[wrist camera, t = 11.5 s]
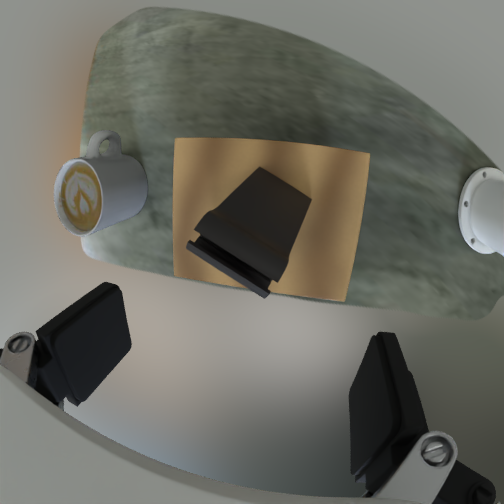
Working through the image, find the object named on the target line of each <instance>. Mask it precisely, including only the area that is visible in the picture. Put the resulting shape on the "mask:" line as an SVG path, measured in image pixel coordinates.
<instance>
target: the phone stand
mask: <svg viewBox="0 0 504 504" xmlns="http://www.w3.org/2000/svg"><path fill="white" fill-rule="evenodd" d="M311 201H312V199H311V198H309V197H308V196H306V195H305V194H303V193H302V192H300V191H299V190H297V189H296V188H294V187H293V186H291V185H289V184H288V183H286V182H285V181H283V180H281V179H280V178H278V177H277V176H275V175H273V174H272V173H270V172H268V171H267V170H265V169H263V168H262V167H260V166H259V167H258V168H257V169H256V170H255V171H254V172H253V173H252V174H251V175H250V176H249V177H248V178H247V179H246V180H244V181H243V182H242V183H241V184H240V185H239V186H238V187H237V188H236V189H235V190H234V191H233V192H232V193H231V194H230V195H229V196H228V197H227V198H226V199H225V200H224V201H223V202H222V203H221V204H220V205H219V206H218V207H216V208H215V209H213V210H210V211H208V212H207V213H206V214H205V215H204V216H203V217H202V219H201V220H200V221H199V222H198V224H197V225H196V227H195V228H194V230H195V231H196V232H198V233H200V236H199V237H198V238H197V240H196V241H195V242H193V241H191V240H189V241H188V242H187V245H186V249H187V250H189V251H190V252H192V253H193V254H195V255H196V256H198V257H199V258H201V259H203V260H204V261H206V262H207V263H209V264H210V265H212V266H213V267H215V268H217V269H218V270H220V271H221V272H223V273H224V274H226V275H228V276H229V277H231V278H232V279H234V280H235V281H237V282H239V283H240V284H242V285H243V286H245V287H247V288H248V289H250V290H251V291H253V292H255V293H256V294H258V295H259V296H261V297H263V298H266V297H267V296H268V295H269V294H270V292H271V291H270V290H268V287H269V285H270V284H271V281H272V280H274V281H275V282H277V283H278V282H279V280H280V278H281V277H282V275H283V273H284V271H285V270H286V267H287V265H288V262H289V255H290V252H291V250H292V247H293V245H294V242H295V240H296V238H297V235H298V233H299V230H300V228H301V226H302V223H303V221H304V218H305V216H306V213H307V211H308V208H309V206H310V203H311Z"/></svg>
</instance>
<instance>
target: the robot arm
mask: <svg viewBox="0 0 504 504" xmlns="http://www.w3.org/2000/svg"><path fill="white" fill-rule="evenodd" d="M458 218H459V225H460V230H461V232H462V235H463V237H464V239H465V241H466V242H467V244H468V245H469V246H470V247H471V248H473V249H474V250H475V251H477V252H479V253H483V254H490V253H493V252H498V253H500V254H501V255H503V256H504V173H503V172H502V171H500V170H498V169H496V168H492V167H484V168H480V169H478V170H476V171H475V172H474V173H473V174H472V175H471V176H470V177H469V178H468V180H467V181H466V183H465V185H464V187H463V190H462V192H461V195H460V200H459V208H458ZM36 333H37V336H38V340H37V341H36V340H35V338H34V336H33V335H32V334H31V333H29V332H19V333H16V334H14V335H13V336H11V337H10V338H9V339H8V340H7V341H6V343H5V346H4V348H3V349H0V504H495V503H494V501H495V498H496V491H495V487H494V485H493V484H492V482H491V481H489V480H488V479H486V478H485V477H483V476H481V475H480V474H478V473H476V472H475V471H473V470H471V469H470V468H468V467H467V466H465V465H464V464H462V463H460V462H459V461H457V460H456V457H457V446H456V443H455V442H454V440H453V439H452V437H450V436H449V435H448V434H446V433H444V432H441V431H431V432H429V430H428V426H427V423H426V419H425V415H424V411H423V408H422V404H421V401H420V398H419V395H418V391H417V388H416V385H415V381H414V379H413V375H412V373H411V372H410V371H408V368H407V365H406V362H405V359H404V357H403V354H402V351H401V348H400V345H399V342H398V340H397V337H396V335H395V333H389V332H378V333H377V335H376V336H375V335H373V336H372V338H371V340H370V342H369V345H368V347H367V350H366V353H365V355H364V358H363V360H362V363H361V365H360V367H359V370H358V372H357V375H356V377H355V379H354V382H353V384H352V386H351V388H350V392H349V412H350V438H351V439H350V440H351V474H352V475H355V482H366V489H367V491H366V492H365V493H364V494H363V495H362V496H361V497H360V498H343V497H315V496H301V495H292V494H284V493H277V492H270V491H264V490H258V489H252V488H246V487H242V486H237V485H233V484H229V483H224V482H220V481H217V480H213V479H209V478H206V477H202V476H199V475H196V474H193V473H190V472H187V471H184V470H181V469H178V468H175V467H172V466H170V465H167V464H164V463H162V462H159V461H157V460H154V459H152V458H149V457H147V456H145V455H142V454H140V453H138V452H136V451H133V450H131V449H129V448H127V447H125V446H123V445H121V444H119V443H117V442H115V441H113V440H111V439H109V438H107V437H106V436H104V435H102V434H100V433H98V432H97V431H95V430H93V429H91V428H90V427H88V426H86V425H85V424H83V423H81V422H80V421H78V420H77V419H75V418H73V417H72V416H70V415H69V414H67V413H66V412H64V400H63V399H64V398H65V397H67V399H68V401H69V402H71V403H73V404H74V405H76V406H78V405H79V404H80V403H81V402H83V401H85V400H86V399H87V398H88V397H89V396H90V395H91V394H92V393H93V391H94V390H95V389H96V388H97V387H98V386H99V385H100V383H101V382H102V381H103V380H104V379H105V378H106V377H107V375H108V374H109V373H110V372H111V371H112V370H113V369H114V367H115V366H116V365H117V364H118V363H119V362H120V361H121V360H122V358H123V357H124V356H125V355H126V354H127V353H128V352H129V350H130V349H131V345H132V344H131V338H130V333H129V328H128V323H127V318H126V313H125V307H124V301H123V296H122V291H121V290H120V288H119V286H117V285H116V284H112V283H108V282H104V283H102V284H100V285H99V286H97V287H96V288H95V289H93V290H92V291H90V292H89V293H87V294H86V295H84V296H83V297H82V298H81V299H79V300H78V301H76V302H75V303H73V304H72V305H70V306H69V307H68V308H66V309H65V310H64V311H62V312H61V313H59V314H58V315H57V316H55V317H54V318H53V319H51V320H50V321H49V322H47V323H46V324H45V325H43V326H42V327H41V328H39V329H38V330H37V331H36ZM496 504H501V503H500V502H498V503H496Z"/></svg>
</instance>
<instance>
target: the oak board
mask: <svg viewBox="0 0 504 504" xmlns="http://www.w3.org/2000/svg"><path fill="white" fill-rule="evenodd" d="M369 162H370V153H365V152H359V151H354V150H348V149H341V148H335V147H328V146H321V145H313V144H305V143H296V142H286V141H274V140H260V139H243V138H175V148H174V171H173V257H174V276H177V277H183V278H189V279H194V280H200V281H206V282H212V283H218V284H224V285H230V286H236V287H242V288H247V287H245V286H243V285H242V284H240V283H239V282H237V281H235V280H234V279H232V278H231V277H229V276H228V275H226V274H224V273H223V272H221V271H220V270H218V269H217V268H215V267H213V266H212V265H210V264H209V263H207V262H206V261H204V260H203V259H201V258H199V257H198V256H196V255H195V254H193V253H192V252H190V251H189V250H187V249H186V245H187V242H188V241H189V240H191V241H193V242H195V241H196V240H197V238H198V237H199V236H200V233H198V232H196V231H195V230H194V228H195V227H196V225H197V224H198V222H199V221H200V220H201V219H202V217H203V216H204V215H205V214H206V213H207V212H208V211H210V210H213V209H215V208H216V207H218V206H219V205H220V204H221V203H222V202H223V201H224V200H225V199H226V198H227V197H228V196H229V195H230V194H231V193H232V192H233V191H234V190H235V189H236V188H237V187H238V186H239V185H240V184H241V183H242V182H243V181H244V180H246V179H247V178H248V177H249V176H250V175H251V174H252V173H253V172H254V171H255V170H256V169H257V168H258V167H259V166H260V167H262V168H263V169H265V170H267V171H268V172H270V173H272V174H273V175H275V176H277V177H278V178H280V179H281V180H283V181H285V182H286V183H288V184H289V185H291V186H293V187H294V188H296V189H297V190H299V191H300V192H302V193H303V194H305V195H306V196H308V197H309V198H311V199H312V201H311V203H310V206H309V208H308V211H307V213H306V216H305V218H304V221H303V223H302V226H301V228H300V230H299V233H298V235H297V238H296V240H295V242H294V245H293V247H292V250H291V252H290V255H289V262H288V265H287V267H286V270H285V271H284V273H283V275H282V277H281V278H280V280H279V282H278V283H277V282H275V281H274V280H272V281H271V284H270V285H269V287H268V290H270V291H271V292H275V293H282V294H289V295H297V296H304V297H312V298H319V299H327V300H335V301H345V298H346V294H347V290H348V286H349V281H350V277H351V273H352V268H353V263H354V259H355V254H356V249H357V243H358V238H359V233H360V227H361V221H362V215H363V208H364V202H365V195H366V187H367V180H368V171H369Z"/></svg>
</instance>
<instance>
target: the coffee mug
mask: <svg viewBox="0 0 504 504" xmlns="http://www.w3.org/2000/svg"><path fill="white" fill-rule="evenodd" d="M106 139H108V140H109V148H108V149H107V151H106V152H104V153H103V154H100V153H99V147H100V144H101V143H102V141H104V140H106ZM147 192H148V183H147V177H146V174H145V171H144V169H143V167H142V166H141V164H140V163H139V162H138V161H137V160H136V159H135V158H133V157H131V156H128V155H122V153H121V138H120V136H119V135H118V134H117V133H116V132H114V131H111V130H101V131H98V132H96V133H95V134H94V135H93V136H92V137H91V139H90V141H89V144H88V147H87V153H86V155H85V157H81V158H74V159H71V160H69V161H68V162H66V163H65V164H64V165H63V166H62V168H61V169H60V171H59V173H58V175H57V178H56V181H55V186H54V202H55V207H56V211H57V214H58V217H59V219H60V221H61V222H62V224H63V225H64V226H65V228H66V229H67V230H68V231H69V232H70V233H72V234H74V235H77V236H87V235H90V234H92V233H94V232H97V231H99V230H101V229H104V228H106V227H109V226H111V225H113V224H116V223H118V222H121V221H123V220H126V219H128V218H131V217H133V216H135V215H136V214H137V213H138V212H139V211H140V210H141V209H142V207H143V206H144V203H145V201H146V198H147Z"/></svg>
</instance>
